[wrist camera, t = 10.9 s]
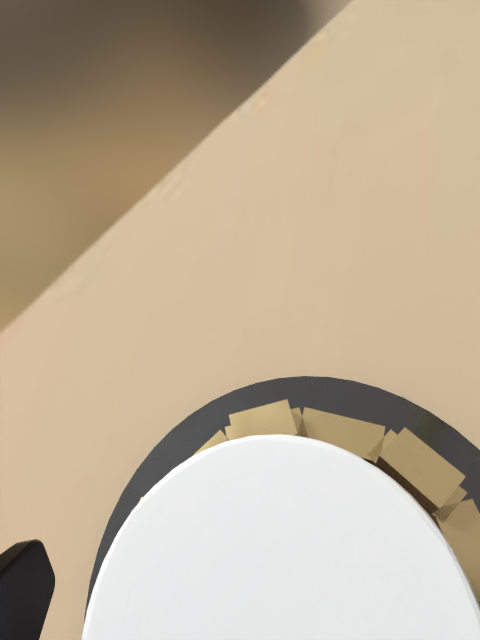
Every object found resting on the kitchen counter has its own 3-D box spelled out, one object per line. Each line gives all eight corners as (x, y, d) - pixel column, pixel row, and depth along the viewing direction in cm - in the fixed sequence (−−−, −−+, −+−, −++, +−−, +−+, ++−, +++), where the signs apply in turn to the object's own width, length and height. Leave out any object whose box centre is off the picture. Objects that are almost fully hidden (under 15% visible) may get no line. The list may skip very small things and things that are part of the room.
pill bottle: (447, 585, 13) (705, 596, 4) (342, 790, 12) (392, 1654, 2) (289, 465, 16) (236, 313, 7) (184, 613, 14) (-83, 675, 5)
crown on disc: (729, 900, 10) (992, 1106, 6) (100, 1042, 11) (-35, 1318, 7) (428, 345, 19) (456, 282, 15) (93, 436, 19) (33, 398, 15)
